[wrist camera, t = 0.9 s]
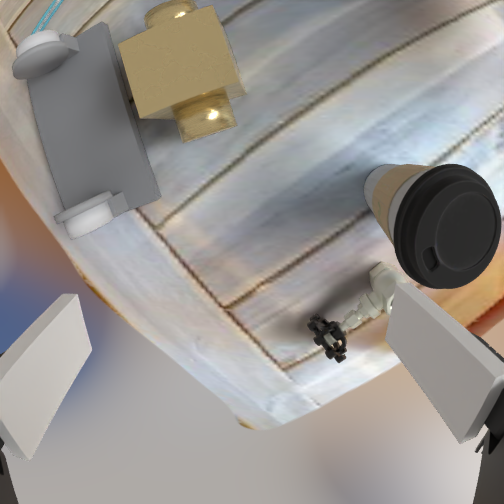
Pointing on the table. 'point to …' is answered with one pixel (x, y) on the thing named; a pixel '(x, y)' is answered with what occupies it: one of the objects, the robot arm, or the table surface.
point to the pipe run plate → (86, 126)
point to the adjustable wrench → (47, 16)
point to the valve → (370, 305)
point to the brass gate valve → (183, 69)
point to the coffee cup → (436, 220)
